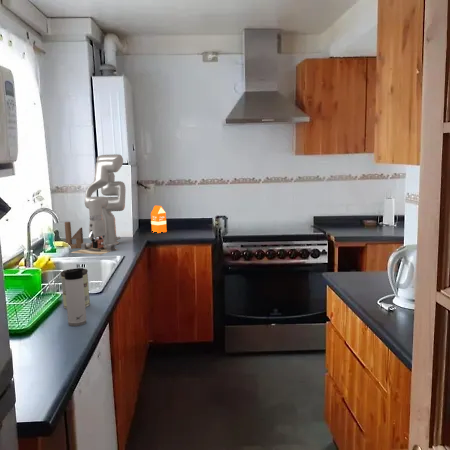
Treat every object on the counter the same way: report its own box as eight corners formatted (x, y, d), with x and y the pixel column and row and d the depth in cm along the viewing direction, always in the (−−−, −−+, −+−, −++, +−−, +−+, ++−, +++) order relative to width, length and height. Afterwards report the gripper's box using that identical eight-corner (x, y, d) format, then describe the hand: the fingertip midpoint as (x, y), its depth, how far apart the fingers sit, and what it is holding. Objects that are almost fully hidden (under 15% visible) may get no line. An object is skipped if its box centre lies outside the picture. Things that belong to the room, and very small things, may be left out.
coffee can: (67, 302, 212) (64, 268, 210) (92, 301, 212) (90, 267, 210) (60, 310, 202) (57, 274, 200) (86, 309, 202) (84, 273, 200)
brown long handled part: (82, 250, 330) (80, 222, 327) (65, 250, 330) (63, 222, 328) (84, 249, 333) (81, 221, 331) (67, 249, 334) (65, 221, 331)
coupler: (95, 246, 326) (95, 238, 325) (105, 246, 322) (105, 239, 321) (90, 247, 321) (89, 239, 320) (100, 248, 318) (100, 240, 317)
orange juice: (158, 233, 388) (156, 206, 385) (151, 232, 395) (150, 205, 392) (166, 231, 393) (165, 205, 391) (160, 230, 400) (158, 204, 397)
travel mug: (82, 326, 181) (78, 270, 179) (65, 326, 183) (60, 270, 180) (90, 320, 187) (86, 266, 185) (73, 320, 189) (69, 266, 186)
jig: (90, 249, 332) (89, 240, 332) (119, 250, 322) (118, 242, 321) (70, 254, 316) (69, 245, 316) (100, 256, 306) (99, 247, 305)
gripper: (91, 220, 310) (93, 250, 312) (109, 216, 325) (111, 245, 327) (81, 219, 313) (84, 249, 316) (100, 216, 328) (102, 244, 331)
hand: (98, 246), depth 322 cm, fingers closed on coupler, 5 cm apart
